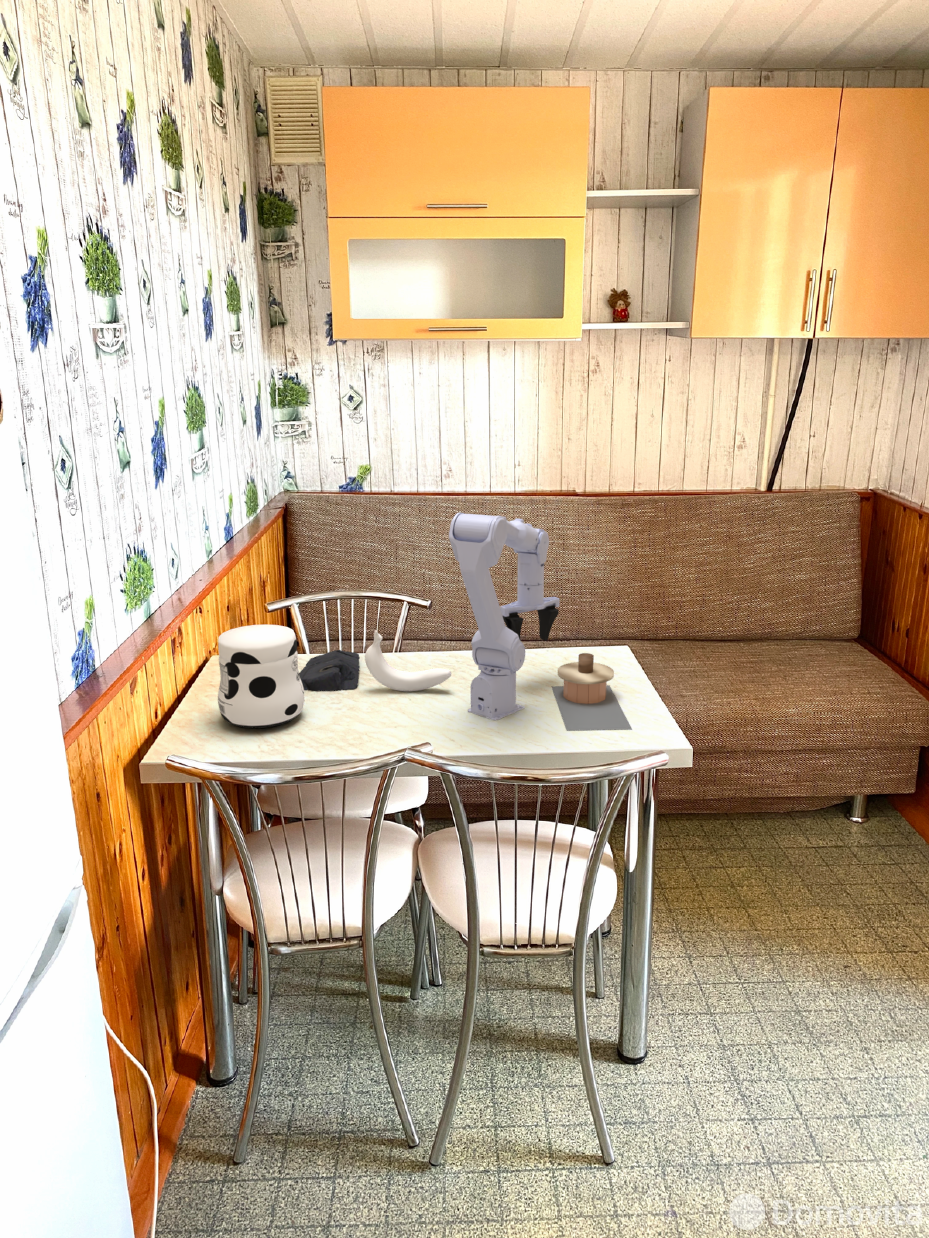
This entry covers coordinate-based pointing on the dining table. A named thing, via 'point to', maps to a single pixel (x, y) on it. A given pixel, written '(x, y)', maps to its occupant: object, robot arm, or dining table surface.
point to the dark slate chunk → (331, 672)
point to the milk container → (259, 676)
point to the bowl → (584, 692)
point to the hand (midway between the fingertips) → (529, 642)
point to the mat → (591, 713)
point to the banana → (400, 672)
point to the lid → (585, 671)
